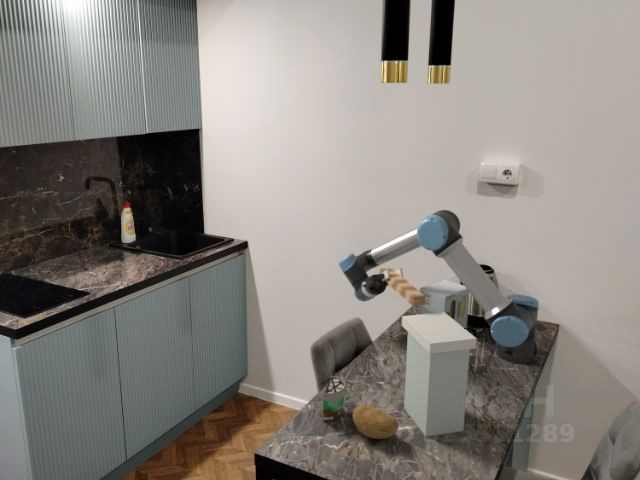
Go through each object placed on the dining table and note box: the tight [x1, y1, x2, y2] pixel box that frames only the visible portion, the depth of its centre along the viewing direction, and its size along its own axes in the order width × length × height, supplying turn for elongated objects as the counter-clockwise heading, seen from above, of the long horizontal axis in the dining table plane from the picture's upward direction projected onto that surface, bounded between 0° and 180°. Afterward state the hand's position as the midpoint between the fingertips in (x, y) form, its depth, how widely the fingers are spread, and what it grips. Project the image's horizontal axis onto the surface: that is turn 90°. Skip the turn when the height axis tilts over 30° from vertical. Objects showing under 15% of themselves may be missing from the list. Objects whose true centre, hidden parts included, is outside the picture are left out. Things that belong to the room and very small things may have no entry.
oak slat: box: [379, 267, 425, 307], centre depth 199 cm, size 30×4×3 cm, turn 15°
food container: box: [322, 375, 348, 423], centre depth 182 cm, size 12×6×10 cm, turn 168°
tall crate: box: [401, 312, 478, 438], centre depth 177 cm, size 20×14×30 cm
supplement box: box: [417, 279, 470, 329], centre depth 244 cm, size 17×13×18 cm
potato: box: [352, 404, 399, 440], centre depth 171 cm, size 10×14×8 cm
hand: (395, 272), depth 203 cm, fingers closed on oak slat, 4 cm apart
